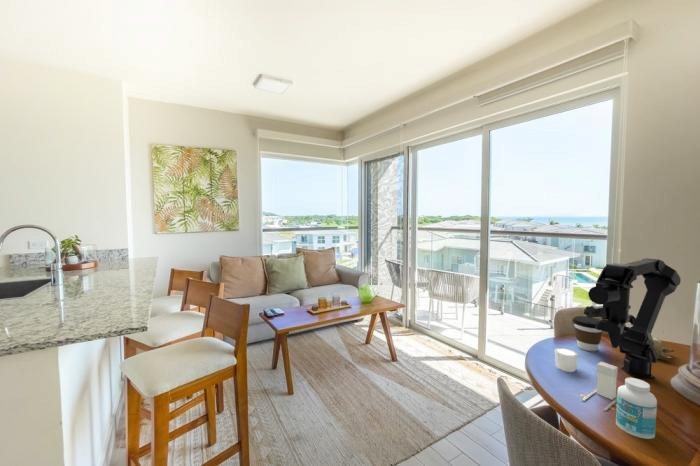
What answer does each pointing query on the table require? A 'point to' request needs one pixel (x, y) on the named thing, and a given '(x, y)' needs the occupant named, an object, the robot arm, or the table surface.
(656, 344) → the ceramic sculpture
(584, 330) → the coffee cup
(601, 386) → the fader tab
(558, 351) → the white cylinder
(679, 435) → the table surface
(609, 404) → the console
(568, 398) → the table surface
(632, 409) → the pill bottle
